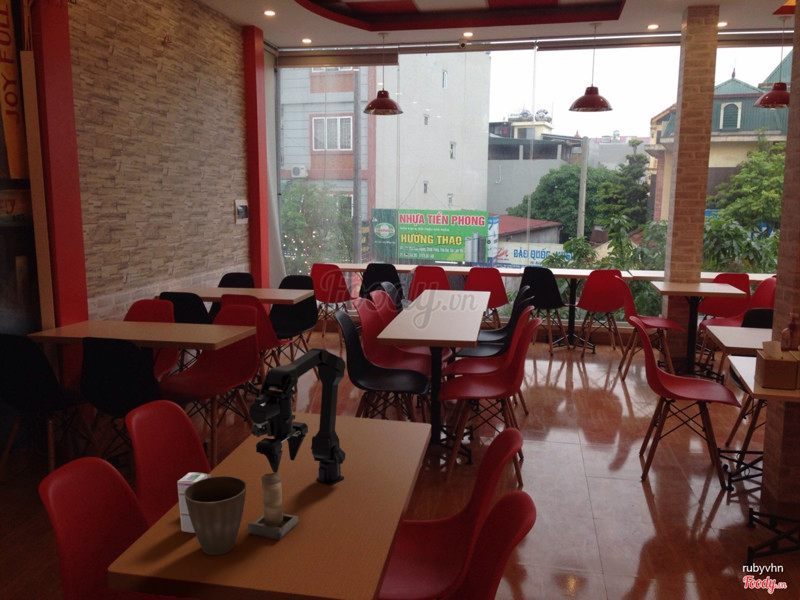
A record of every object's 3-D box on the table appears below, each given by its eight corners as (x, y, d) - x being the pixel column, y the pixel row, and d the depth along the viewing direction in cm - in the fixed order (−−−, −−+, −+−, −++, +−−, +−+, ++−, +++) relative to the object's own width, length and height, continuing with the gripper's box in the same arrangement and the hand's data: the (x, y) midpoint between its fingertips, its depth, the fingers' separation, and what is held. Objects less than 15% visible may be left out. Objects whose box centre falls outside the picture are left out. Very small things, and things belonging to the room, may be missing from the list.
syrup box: (200, 533, 166) (197, 481, 164) (180, 531, 167) (176, 480, 165) (211, 523, 172) (208, 473, 170) (191, 521, 173) (188, 471, 171)
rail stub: (281, 520, 172) (278, 471, 170) (285, 528, 167) (282, 478, 165) (262, 524, 170) (259, 475, 168) (266, 532, 165) (263, 482, 163)
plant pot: (259, 536, 164) (256, 478, 162) (231, 567, 150) (228, 504, 148) (207, 530, 168) (204, 473, 166) (176, 560, 153) (172, 499, 151)
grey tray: (268, 517, 174) (268, 507, 174) (298, 523, 171) (297, 512, 171) (248, 534, 166) (248, 523, 165) (279, 540, 162) (279, 529, 162)
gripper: (275, 400, 186) (277, 450, 189) (237, 420, 169) (240, 475, 171) (308, 404, 182) (309, 455, 185) (273, 425, 165) (275, 481, 167)
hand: (284, 466), depth 177 cm, fingers open, 9 cm apart
